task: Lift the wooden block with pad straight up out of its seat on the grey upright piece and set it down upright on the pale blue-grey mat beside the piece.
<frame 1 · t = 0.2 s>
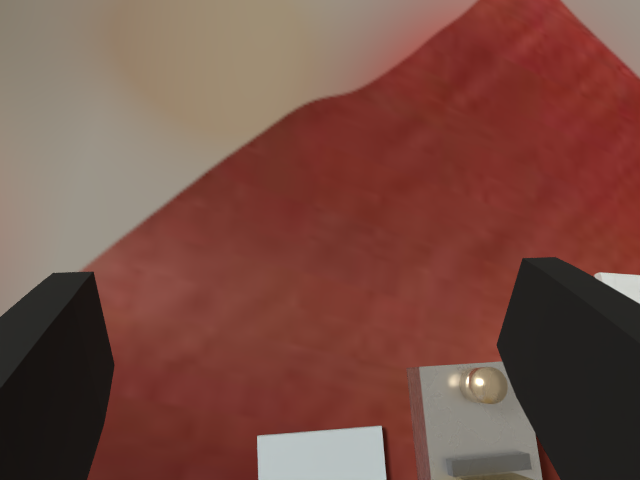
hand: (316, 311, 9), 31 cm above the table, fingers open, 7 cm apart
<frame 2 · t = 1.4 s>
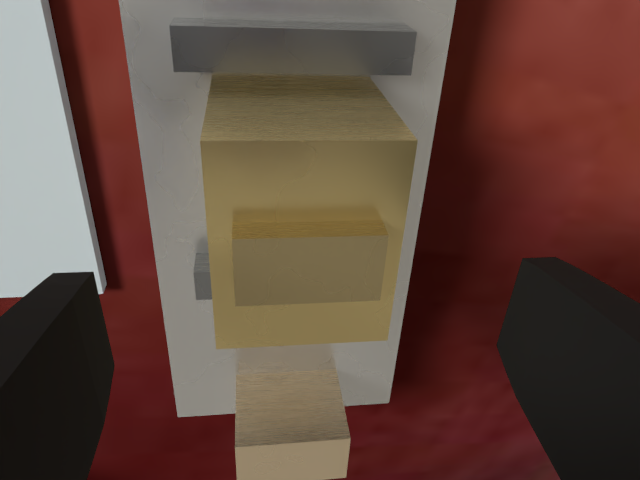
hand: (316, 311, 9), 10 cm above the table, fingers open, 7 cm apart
grey piece: (283, 128, 17), on the table
wooden block with pad: (290, 166, 15), point 3 cm above the table, touching grey piece
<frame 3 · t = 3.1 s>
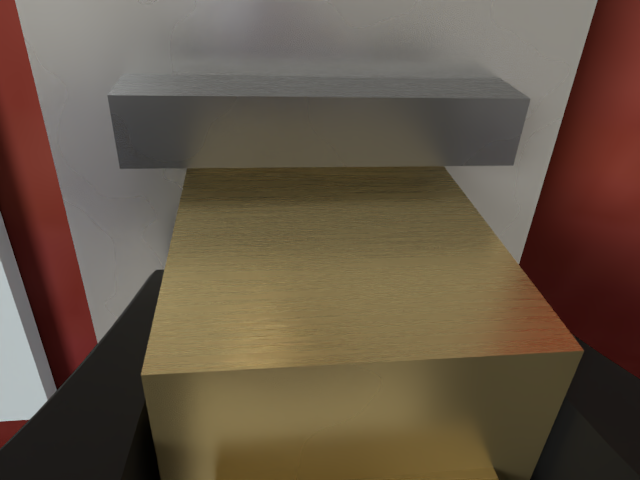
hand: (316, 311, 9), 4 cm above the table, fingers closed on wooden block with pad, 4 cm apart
grey piece: (297, 206, 12), on the table
wooden block with pad: (311, 283, 10), point 3 cm above the table, touching gripper, grey piece
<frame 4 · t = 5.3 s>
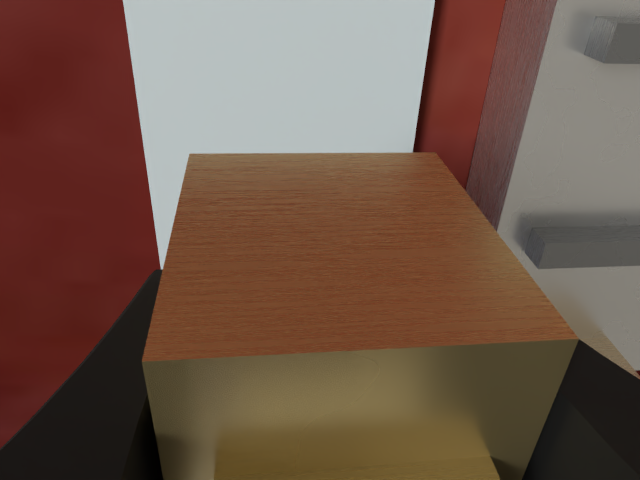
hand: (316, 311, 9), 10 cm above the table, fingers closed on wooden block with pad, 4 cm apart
mat: (282, 115, 18), on the table
grey piece: (587, 116, 19), on the table
wooden block with pad: (310, 278, 10), point 9 cm above the table, touching gripper
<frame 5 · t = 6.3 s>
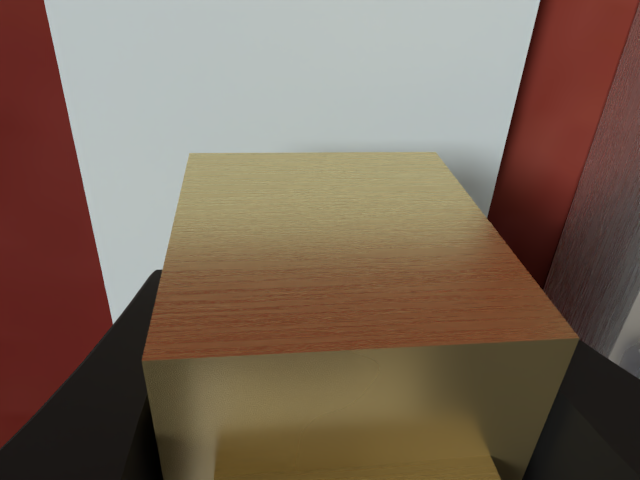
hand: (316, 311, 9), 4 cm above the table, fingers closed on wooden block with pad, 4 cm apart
mat: (296, 204, 12), on the table
wooden block with pad: (310, 277, 10), point 3 cm above the table, touching gripper
when the fingers open (3 cm above the table, at t = 7.4 s): wooden block with pad drops 1 cm, resting on mat.
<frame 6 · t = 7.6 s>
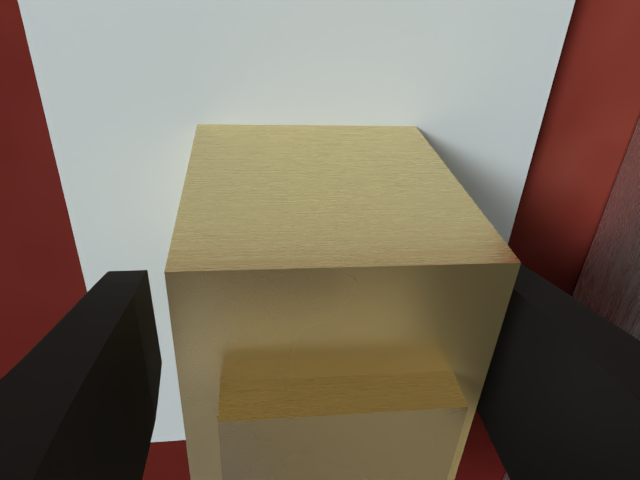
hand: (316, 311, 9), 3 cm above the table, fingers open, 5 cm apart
mat: (301, 228, 11), on the table
wooden block with pad: (304, 241, 11), point 1 cm above the table, touching mat
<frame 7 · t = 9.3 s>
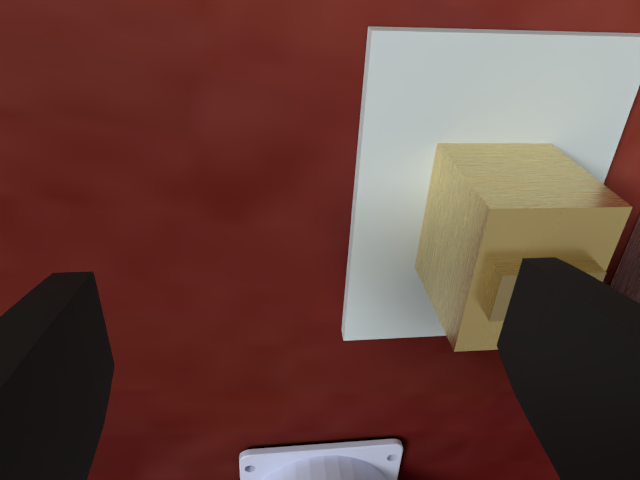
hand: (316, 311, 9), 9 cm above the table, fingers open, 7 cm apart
mat: (472, 202, 19), on the table
wooden block with pad: (478, 208, 19), point 1 cm above the table, touching mat
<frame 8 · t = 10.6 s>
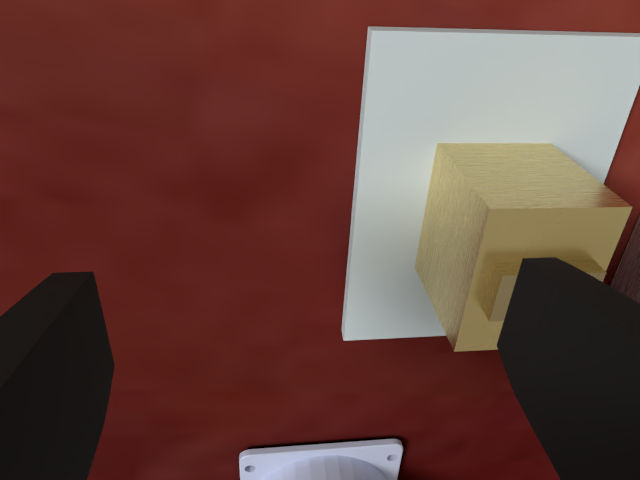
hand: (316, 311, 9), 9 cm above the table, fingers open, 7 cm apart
mat: (472, 202, 19), on the table
wooden block with pad: (478, 208, 19), point 1 cm above the table, touching mat
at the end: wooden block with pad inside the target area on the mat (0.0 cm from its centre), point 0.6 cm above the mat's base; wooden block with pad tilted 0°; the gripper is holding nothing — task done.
